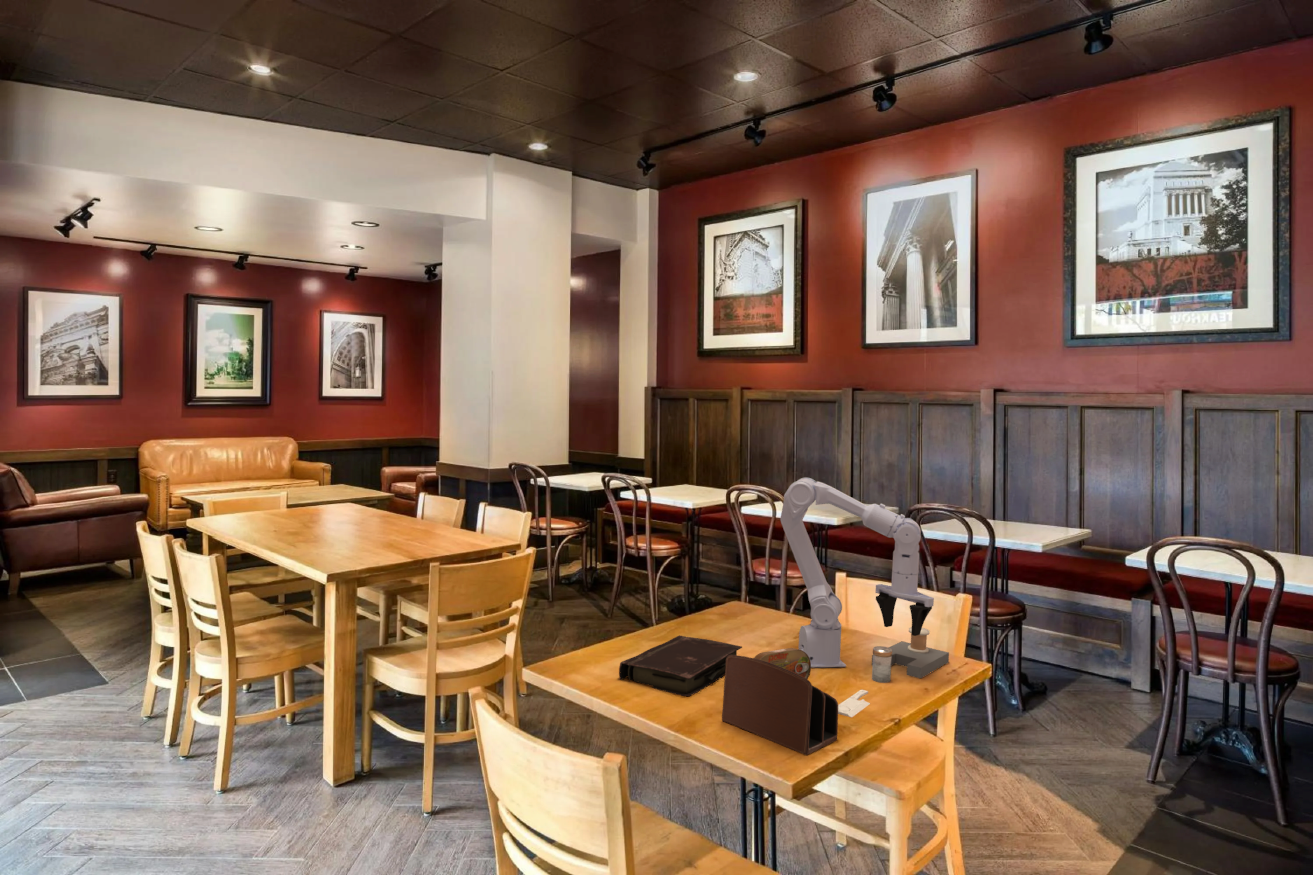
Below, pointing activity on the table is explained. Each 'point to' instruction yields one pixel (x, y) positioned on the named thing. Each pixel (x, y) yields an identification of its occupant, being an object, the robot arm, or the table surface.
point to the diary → (679, 665)
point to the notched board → (918, 655)
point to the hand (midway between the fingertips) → (901, 630)
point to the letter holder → (778, 705)
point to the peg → (881, 664)
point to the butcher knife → (853, 704)
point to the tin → (788, 660)
